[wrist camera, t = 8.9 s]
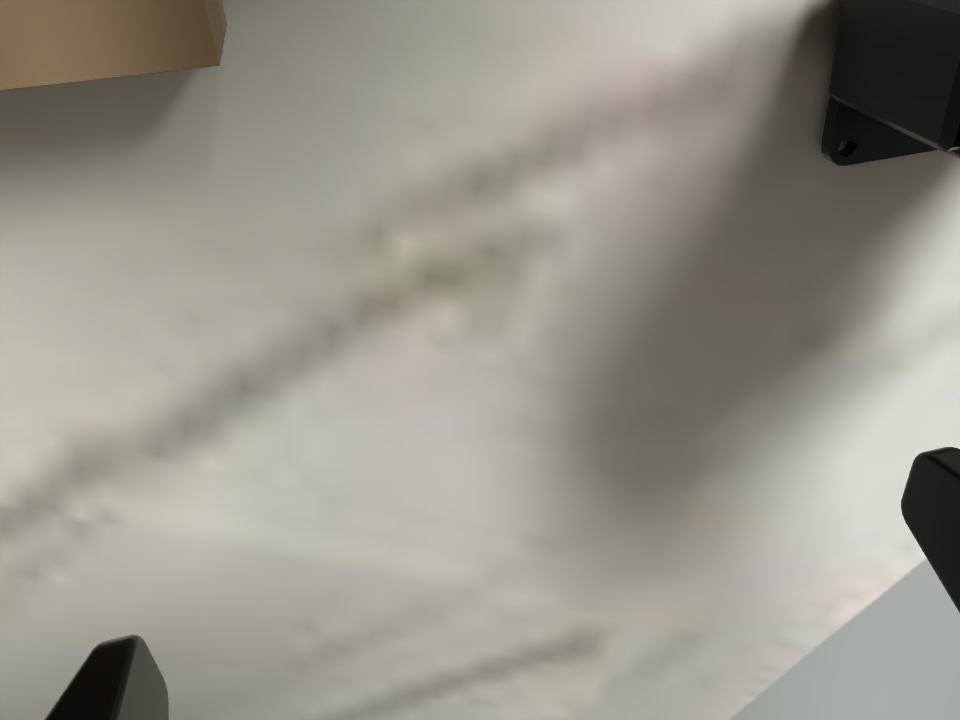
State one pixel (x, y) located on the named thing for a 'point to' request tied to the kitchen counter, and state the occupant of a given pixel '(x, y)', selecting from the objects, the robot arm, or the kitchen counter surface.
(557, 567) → the kitchen counter surface
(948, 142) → the robot arm
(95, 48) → the walnut block
